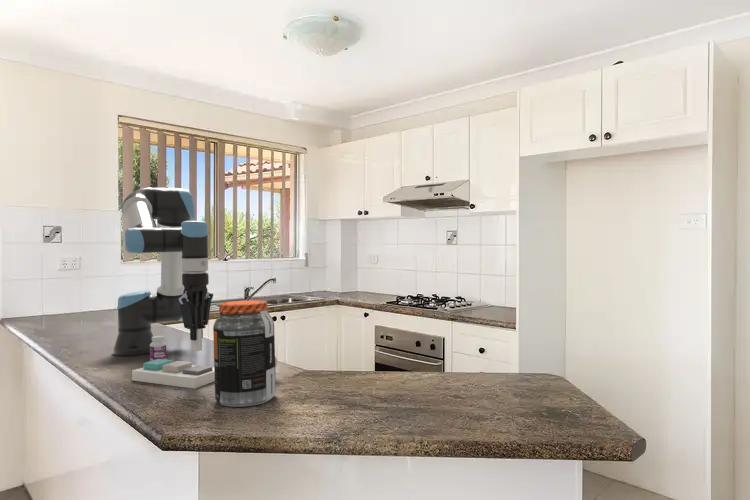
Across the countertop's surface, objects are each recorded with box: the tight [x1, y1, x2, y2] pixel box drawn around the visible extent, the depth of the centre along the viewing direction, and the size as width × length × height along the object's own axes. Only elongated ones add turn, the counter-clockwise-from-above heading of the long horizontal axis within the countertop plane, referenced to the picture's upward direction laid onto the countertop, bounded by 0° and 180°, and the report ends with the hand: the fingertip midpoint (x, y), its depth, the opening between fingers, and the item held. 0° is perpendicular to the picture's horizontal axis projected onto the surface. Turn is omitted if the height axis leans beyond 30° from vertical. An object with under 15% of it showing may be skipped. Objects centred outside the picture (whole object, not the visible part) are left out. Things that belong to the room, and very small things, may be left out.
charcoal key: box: [182, 364, 213, 375], centre depth 154 cm, size 6×6×3 cm
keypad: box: [131, 364, 215, 389], centre depth 158 cm, size 12×25×3 cm, turn 66°
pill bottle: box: [149, 335, 168, 361], centre depth 178 cm, size 5×5×10 cm
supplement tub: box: [212, 299, 277, 408], centre depth 136 cm, size 16×16×26 cm
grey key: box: [163, 360, 193, 373], centre depth 158 cm, size 6×6×3 cm
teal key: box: [142, 359, 174, 371], centre depth 161 cm, size 6×6×3 cm
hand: (196, 350), depth 155 cm, fingers closed
